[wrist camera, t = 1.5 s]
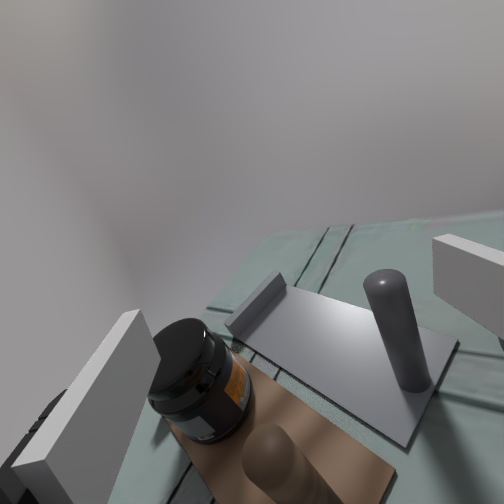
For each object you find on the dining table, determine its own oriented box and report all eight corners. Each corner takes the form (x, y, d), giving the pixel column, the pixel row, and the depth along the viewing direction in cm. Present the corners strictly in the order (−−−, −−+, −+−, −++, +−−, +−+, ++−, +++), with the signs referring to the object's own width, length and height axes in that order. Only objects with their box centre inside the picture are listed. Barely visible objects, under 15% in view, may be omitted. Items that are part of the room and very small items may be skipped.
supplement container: (260, 362, 40) (218, 304, 34) (252, 445, 31) (195, 387, 26) (198, 374, 44) (151, 324, 38) (176, 453, 35) (111, 403, 29)
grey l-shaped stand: (458, 340, 31) (442, 236, 24) (405, 449, 26) (367, 354, 19) (280, 283, 53) (246, 220, 46) (232, 335, 47) (186, 273, 41)
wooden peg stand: (395, 470, 25) (351, 379, 18) (309, 649, 19) (200, 616, 13) (224, 344, 47) (175, 282, 40) (162, 413, 41) (93, 354, 34)
